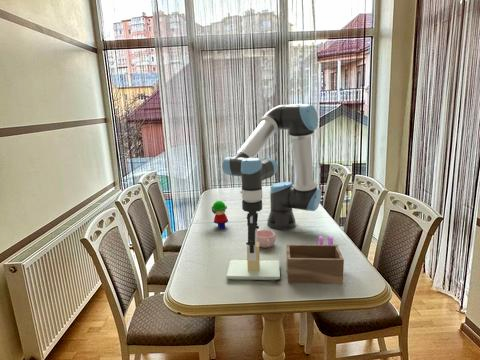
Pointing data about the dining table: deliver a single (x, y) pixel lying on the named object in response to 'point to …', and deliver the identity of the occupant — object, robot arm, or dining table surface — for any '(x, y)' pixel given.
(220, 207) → the toy
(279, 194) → the robot arm
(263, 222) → the dining table surface
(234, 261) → the lid
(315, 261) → the box
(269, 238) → the mug
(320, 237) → the bracket
